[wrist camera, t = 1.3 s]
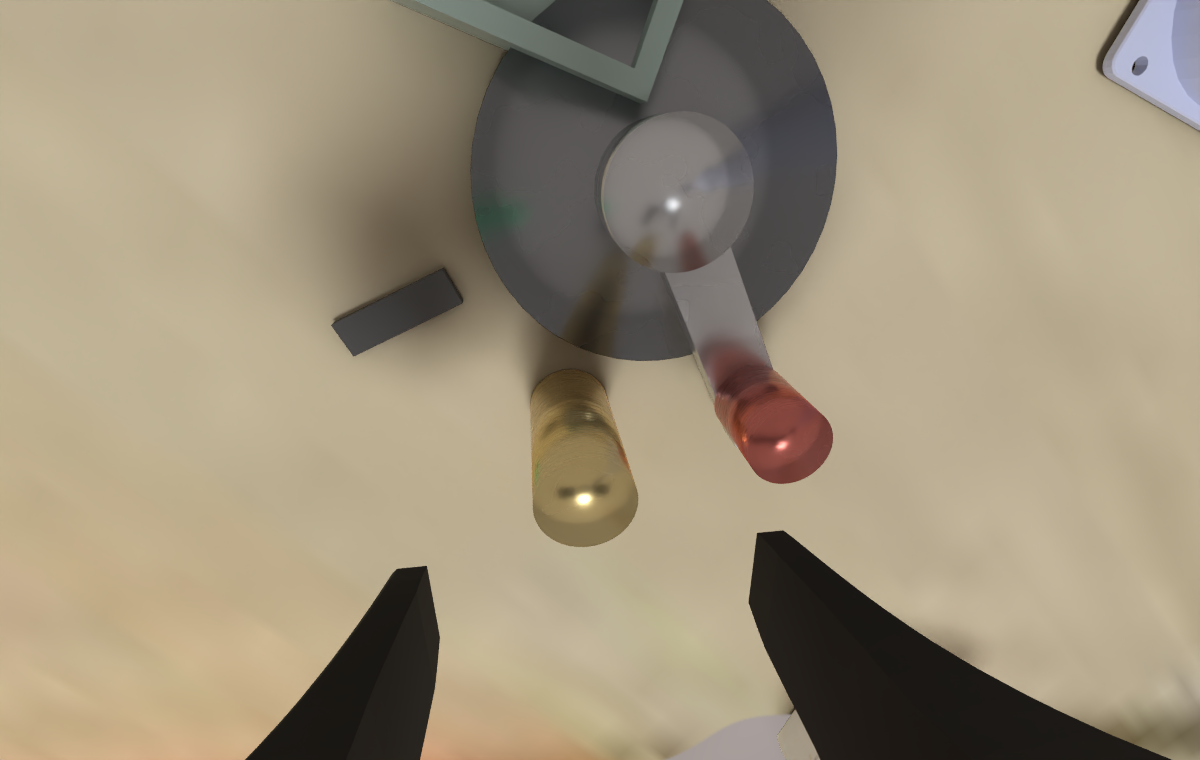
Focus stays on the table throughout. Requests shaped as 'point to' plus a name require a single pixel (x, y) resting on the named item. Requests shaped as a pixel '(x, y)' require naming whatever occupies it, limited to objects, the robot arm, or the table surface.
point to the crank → (708, 277)
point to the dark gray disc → (594, 118)
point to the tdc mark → (398, 312)
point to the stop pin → (578, 462)
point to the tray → (559, 39)
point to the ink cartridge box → (796, 740)
